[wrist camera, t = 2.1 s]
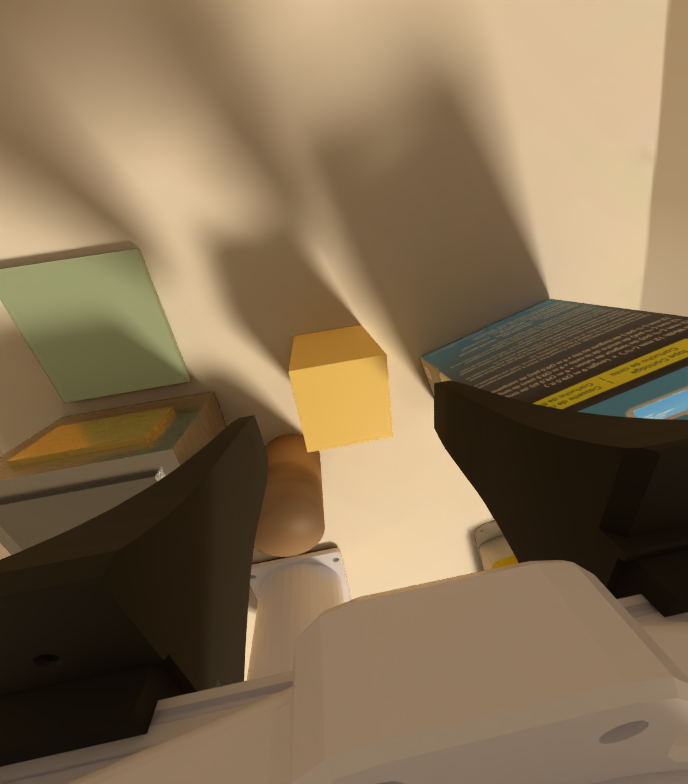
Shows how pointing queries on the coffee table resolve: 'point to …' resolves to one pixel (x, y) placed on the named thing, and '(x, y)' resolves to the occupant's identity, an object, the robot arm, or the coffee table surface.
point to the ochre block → (340, 388)
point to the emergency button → (493, 547)
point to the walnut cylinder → (291, 499)
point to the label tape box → (576, 360)
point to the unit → (97, 464)
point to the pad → (94, 324)
